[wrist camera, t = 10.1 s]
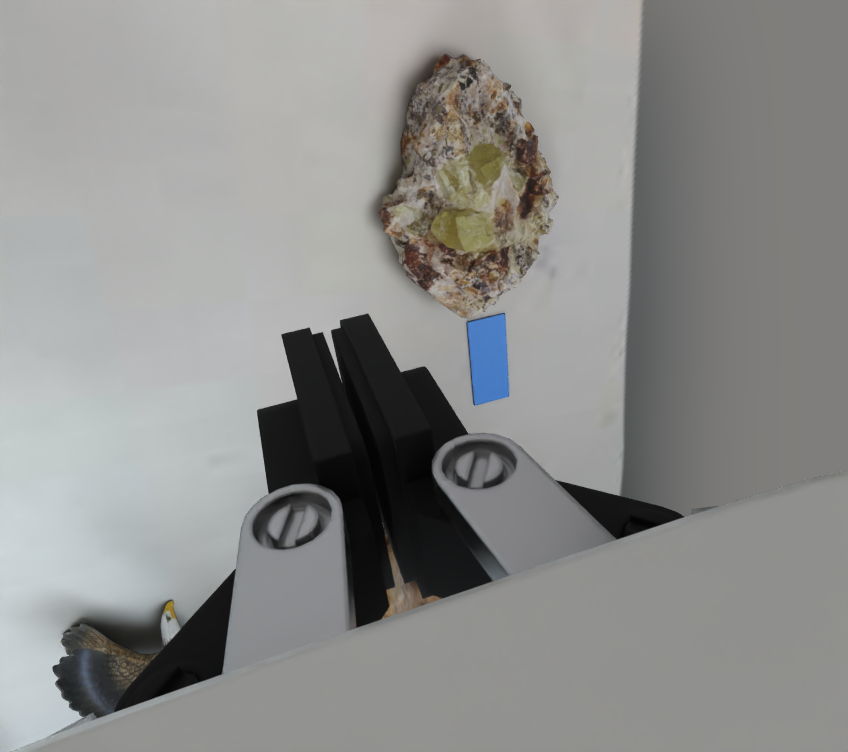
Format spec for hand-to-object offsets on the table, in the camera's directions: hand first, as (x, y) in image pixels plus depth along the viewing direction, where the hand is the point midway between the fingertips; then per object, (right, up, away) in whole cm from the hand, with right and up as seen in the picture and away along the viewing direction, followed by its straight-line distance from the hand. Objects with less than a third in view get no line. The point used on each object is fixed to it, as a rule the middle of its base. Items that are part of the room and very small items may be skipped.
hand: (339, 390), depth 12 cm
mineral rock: (+3, +9, +16) cm, 18 cm away
